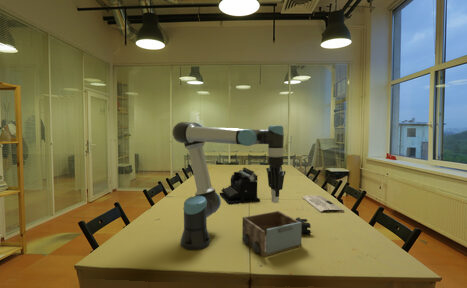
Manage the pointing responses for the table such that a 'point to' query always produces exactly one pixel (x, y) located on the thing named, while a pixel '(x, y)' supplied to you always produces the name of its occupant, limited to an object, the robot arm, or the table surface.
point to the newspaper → (321, 203)
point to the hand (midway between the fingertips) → (275, 202)
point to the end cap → (304, 226)
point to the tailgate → (283, 237)
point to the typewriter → (241, 188)
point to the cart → (263, 229)
